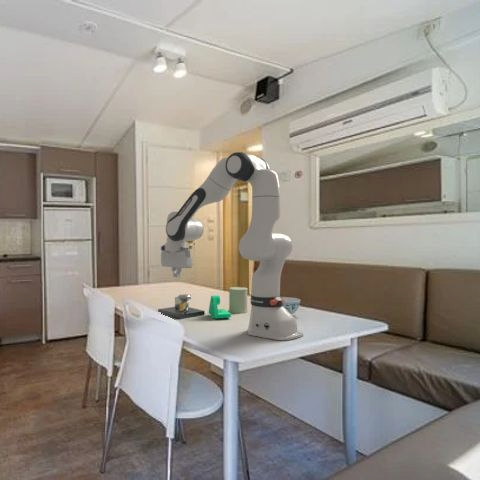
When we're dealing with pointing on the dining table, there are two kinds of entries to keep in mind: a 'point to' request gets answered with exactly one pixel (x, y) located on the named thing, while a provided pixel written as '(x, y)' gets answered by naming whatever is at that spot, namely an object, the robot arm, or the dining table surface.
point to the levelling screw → (184, 302)
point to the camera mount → (214, 310)
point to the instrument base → (179, 314)
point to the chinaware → (291, 304)
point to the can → (238, 300)
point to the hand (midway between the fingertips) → (176, 277)
